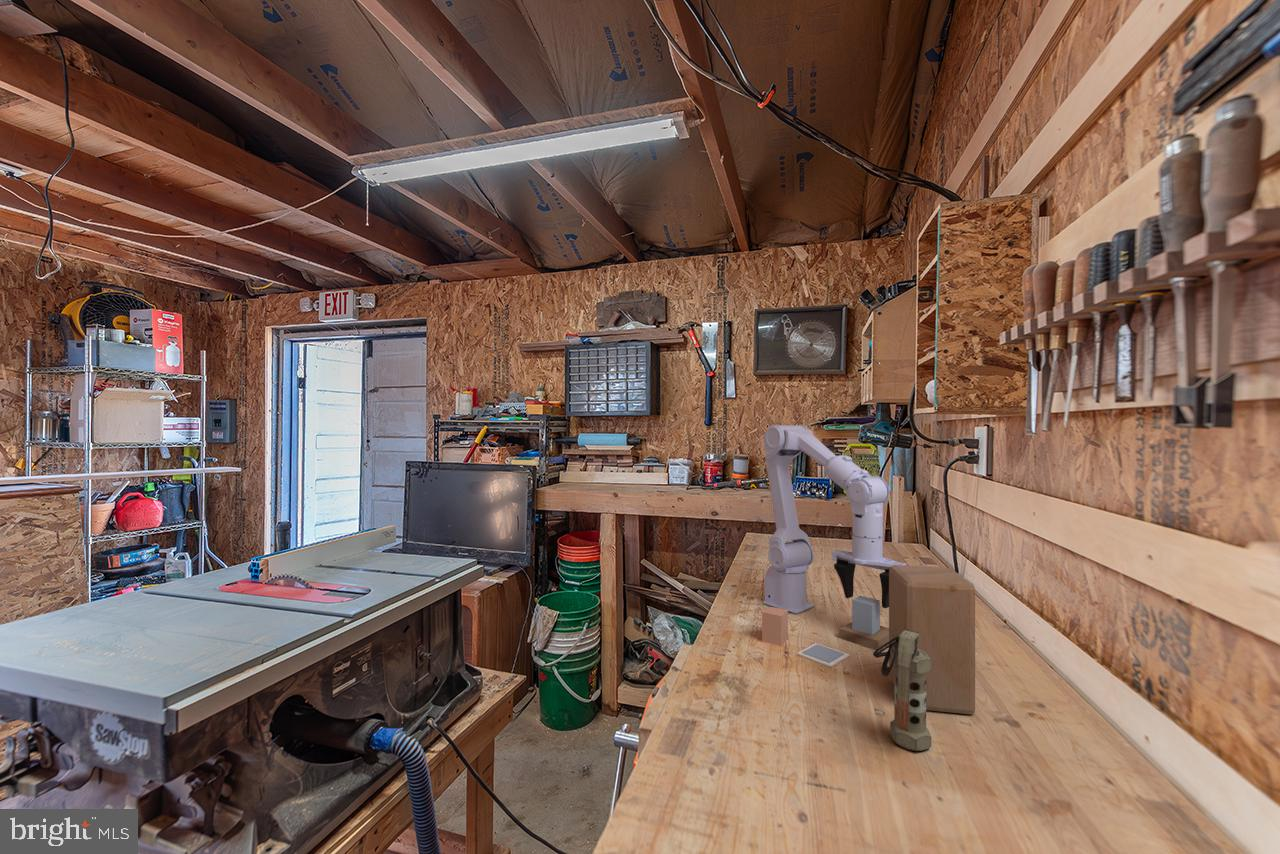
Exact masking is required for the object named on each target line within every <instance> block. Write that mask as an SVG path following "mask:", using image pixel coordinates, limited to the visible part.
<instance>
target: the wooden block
mask: <svg viewBox="0 0 1280 854" xmlns="http://www.w3.org/2000/svg"><path fill="white" fill-rule="evenodd" d="M888 628H889V641H890V640H891V639H893V638H895V637H896V636H897V637H898V636H900V635H901V633H902V632H903V631H904V630H906V631H907V630H911V631H915V632H918V633H919V634H920V635H919V637H918V644H917V648H918V649H919V650H922V651H924V652H926V653H927V654H928V655H929V657H930V659H931V670H930V671H929V672H927V673H926V711H934V712H942V713H945V712H946V713H954V714H962V715H972V714H975V711H976V586H975V585H974V583H973V582H971V581H970V580H968V579H967V578H965V577H963V576H962V575H961V574H960V573H958V572H956V571H955V570H953V569H951V568H949V567H944V566H925V565H924V566H922V565H907V564H906V565H893V566H891V567H890V569H889V607H888ZM895 641H896V640H894V641H893V642H895ZM891 643H892V642H891ZM891 643H890V644H891ZM893 647H894V645H893V646H892V648H893ZM892 648H891V649H892ZM890 665H891V659H890V658H889V661H888V666H889V667H890ZM888 676H889V679H890V682H891V683H892V685H893V686H894V666H893V667H892V669H891V671H890V673H889V674H888Z"/></svg>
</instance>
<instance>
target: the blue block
mask: <svg viewBox="0 0 1280 854" xmlns="http://www.w3.org/2000/svg"><path fill="white" fill-rule="evenodd" d="M851 622H852V630H856V631H859V632H863V633H866V634H870V635H873V634H875V633H876V632H877V631H879V630H880V626H881V601H880V599H877V598H871V597H867V596H862V595H859V596H857V597H856V598H853V599H852V600H851Z"/></svg>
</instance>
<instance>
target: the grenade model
mask: <svg viewBox="0 0 1280 854" xmlns="http://www.w3.org/2000/svg"><path fill="white" fill-rule="evenodd" d="M919 635H920V634H919V633H918V632H915V631H911V630H907V631H906V630H904V631H903V632H902V633H901V635H900V636H898V637H897V636H896V637H895V638H893V639H891V640H890V641H888V642H887V643H886V644H884V645H883V646H881V647H880V648H878V649H877V650H874V651H873V653H872V655H873V657H874V658H875V659H878V658H882V657H884V659H883V662H882V665H881V669H880V670H881V671H880V672H881V675H882V676H884V677H887V676H889V673H890V671H891V669H892V667H893V666H894V685H893V687H894V688H893V689H894V697H893V698H894V712H893V714H894V715H893V717H894V718H893V720H892V721H890V722H889V724H890V725H889V728H890V730H889V732H890V736H891V738H892V740H893V742H895V744H897V745H898V746H900V747H901V748H903V749H905V750H908V751H912V752H922V751H925V750H928V749H930V748H931V747H932V736H931V733H930V731H929V729H928V728H927V710H926V673H927V672H929V671H930V670H931V659H930V657H929V655H928V654H927V653H926V652H924V651H922V650H919V649H918V648H917V644H918V637H919ZM894 640H896V641H895V642H893V641H894ZM891 642H892V643H891ZM890 643H891V644H890ZM888 644H889V645H888ZM893 645H894V647H893V648H892V646H893ZM885 646H886V647H885ZM891 648H892V649H891ZM885 650H887V651H885ZM889 658H890V659H891V665H890V667H889Z"/></svg>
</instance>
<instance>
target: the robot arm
mask: <svg viewBox="0 0 1280 854" xmlns="http://www.w3.org/2000/svg"><path fill="white" fill-rule="evenodd" d="M762 439H763V445H764V452H765V466H766V471H767V478H768V483H769V485H768V486H769V491H770V496H771V497H770V498H771V505H772V510H773V517H774V523H775V528H776V529H775V532H774V533H773V534H772V535H771V536H769V538H768V543H769V547H768V548H769V549H768V553H767V554H768V559H769V563H770V566H769V567H768V568H767V570H766V571H765V576H764V600H763V601H762V603H763V604H764V605H767V606H769V607H774V608H779V609H784V610H788V613H789V612H790V613H792V614H797V615H798V614H800V613H801V612H804V611H806V610H808V609H810V608H814V607H815V604H814V603H812V602H811V603H810V602H807V601H808V600H807V597H808V596H807V592H808V591H807V588H808V587H807V584H808V583H807V581H808V580H807V572H808V571H809V569H810V565H811V564H813V562H814V559H815V553H814V548H813V547H812V545H811V543H810V540H809V535H808V534H807V533H806V532H804V531H803V530H802V529H801V528H800V525H799V519H798V511H797V507H796V500H795V495H794V494H795V493H794V489H793V487H794V486H793V482H792V476H791V471H790V464H791V462H792V461H793V460H794V459H795V458H796V457H798V456H799V455H800V454H801V453H802V452H803V453H804V454H806V455H807V456H809V457H810V458H812V460H813V461H816V462H817V463H818V464H820V465H821V466H822V467H824V468H825V469H824V470H825V474H826V476H827V477H828V478H829V479H830V480H832V481H833V483H835V484H836V485H838V486H839V487H840V488H841V489H843V490H844V492H845V495H846V498H847V500H848V502H849V503H850V504H849V505H850V511H851V512H852V519H851V520H852V526H851V527H852V533H851V534H852V536H851V538H852V541H851V542H852V544H851V548H852V550H851V551H846V550H845V551H844V550H838V549H835V550H832V551H831V561H834V562H835V563H834V564H833V568H834V570H835V572H836V573H837V575H838V577H839V580H840V582H841V585H842V588H843V592H844V597H845V598H846V599H850V598H852V597H853V596H854V590H855V589H854V577H855V571H856V566H857V565H858V566H863V567H867V568H871V569H876V570H881V571H883V572H881V573H879V574H878V575H879V576H878V577H879V580H880V586H881V608H882V609H883V608H884V609H887V608H888V609H889V569H890V567H891V566H893V565H907V563H906V562H900V561H896V560H893V559H891V558H890V559H889V558H887V557H883V556H884V554H883V551H884V549H883V548H884V541H883V540H884V539H883V537H884V503H886V501H888V499H889V496H890V488H889V485H888V483H887V482H886V481H885V479H884V478H883V477H882V476H878V475H874V476H872V475H870V474H869V472H868V471H867V470H866V469H862V468H861V467H860V466H859V465H857V464H856V463H855V462H854V461H853V458H852V457H851V456H850V455H843V454H842V455H841V454H840V455H836V454H835V453H834V452H832V451H831V450H830V449H829V448H828V447H827V446H825V445H824V443H822V442H821V441H820V440H819V439H818V438H817V437H816V436H814V432H813V430H811V429H809V428H808V427H807V426H805V425H803V424H798V425H797V424H796V425H791V424H788V425H787V424H786V425H785V424H783V425H780V424H771V425H770V426H768V428H767V429H766V431H765V433H764V435H763V436H762Z"/></svg>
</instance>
